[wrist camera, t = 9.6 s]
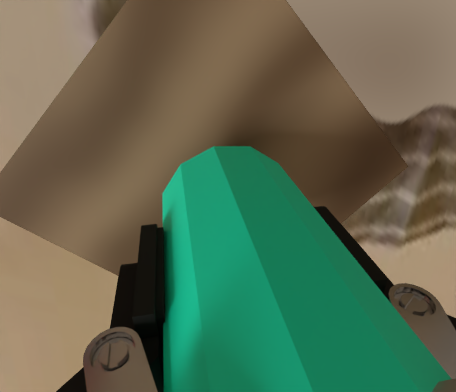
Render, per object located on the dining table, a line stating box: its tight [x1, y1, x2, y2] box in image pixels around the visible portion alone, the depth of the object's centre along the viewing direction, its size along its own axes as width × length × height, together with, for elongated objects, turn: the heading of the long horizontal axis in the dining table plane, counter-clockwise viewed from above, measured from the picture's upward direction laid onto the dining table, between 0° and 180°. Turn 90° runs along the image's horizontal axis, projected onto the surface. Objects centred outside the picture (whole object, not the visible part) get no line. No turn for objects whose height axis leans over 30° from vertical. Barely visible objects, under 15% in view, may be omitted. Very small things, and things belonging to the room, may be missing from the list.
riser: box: [0, 0, 408, 276], centre depth 19 cm, size 16×16×5 cm
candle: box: [162, 146, 451, 392], centre depth 9 cm, size 6×6×12 cm
